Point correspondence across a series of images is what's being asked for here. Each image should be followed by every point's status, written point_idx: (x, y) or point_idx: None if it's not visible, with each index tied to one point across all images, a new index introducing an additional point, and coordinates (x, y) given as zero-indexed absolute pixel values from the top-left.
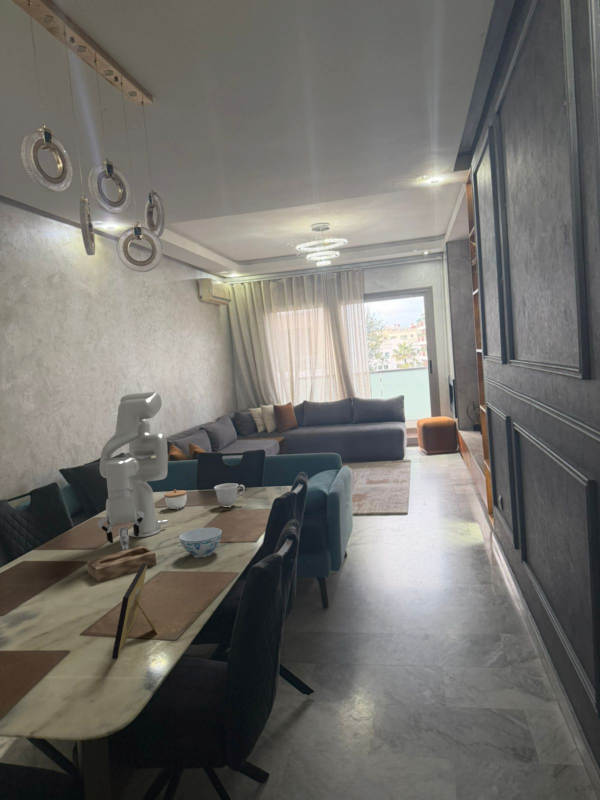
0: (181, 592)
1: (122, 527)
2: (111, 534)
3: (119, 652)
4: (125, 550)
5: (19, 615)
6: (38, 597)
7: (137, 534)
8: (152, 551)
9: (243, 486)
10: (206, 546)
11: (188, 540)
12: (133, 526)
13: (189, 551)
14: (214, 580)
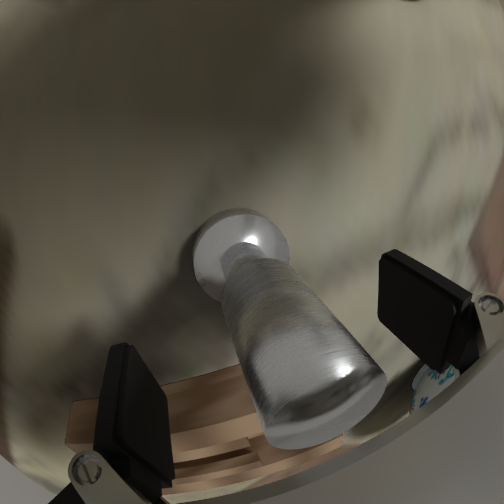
0: None
1: (337, 388)
2: (166, 468)
3: None
4: (246, 416)
5: (42, 480)
6: (23, 452)
7: (392, 327)
8: (341, 438)
9: None
10: None
11: (453, 371)
12: (445, 310)
13: (409, 414)
14: None
